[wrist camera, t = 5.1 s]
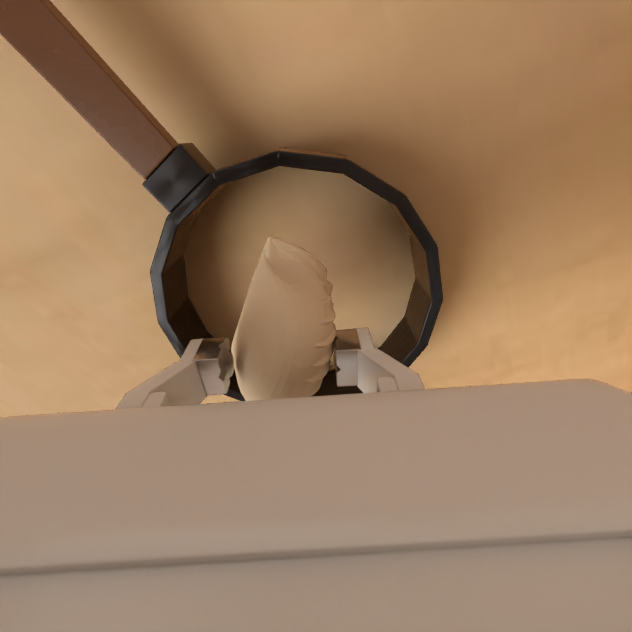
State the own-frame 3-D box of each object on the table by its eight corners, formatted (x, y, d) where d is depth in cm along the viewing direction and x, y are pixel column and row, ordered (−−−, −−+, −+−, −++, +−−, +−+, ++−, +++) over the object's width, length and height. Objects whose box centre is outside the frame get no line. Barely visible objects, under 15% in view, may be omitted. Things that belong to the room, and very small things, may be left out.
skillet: (466, 302, 21) (489, 329, 18) (288, 410, 25) (285, 444, 23) (121, -236, 11) (53, -368, 8) (-69, 106, 15) (-154, 100, 12)
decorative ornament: (355, 266, 15) (377, 329, 10) (289, 392, 18) (283, 480, 14) (271, 231, 14) (252, 283, 9) (220, 371, 18) (189, 457, 13)
